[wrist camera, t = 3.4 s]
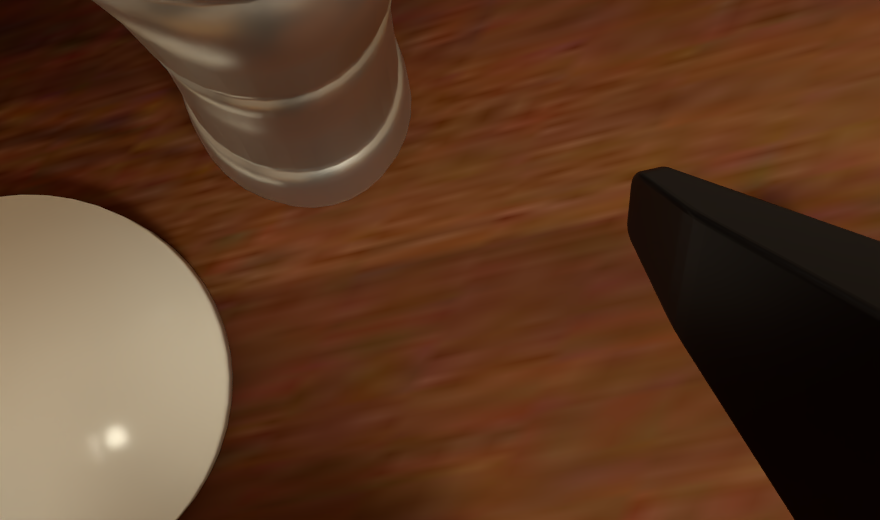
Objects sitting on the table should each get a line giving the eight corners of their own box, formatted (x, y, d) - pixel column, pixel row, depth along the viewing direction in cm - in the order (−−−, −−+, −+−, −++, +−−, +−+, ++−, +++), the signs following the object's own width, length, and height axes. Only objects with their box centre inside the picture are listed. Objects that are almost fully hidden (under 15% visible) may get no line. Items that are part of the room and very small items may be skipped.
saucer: (147, 644, 20) (134, 660, 19) (-243, 520, 19) (-278, 530, 18) (287, 272, 21) (282, 269, 20) (-69, 149, 21) (-92, 140, 20)
